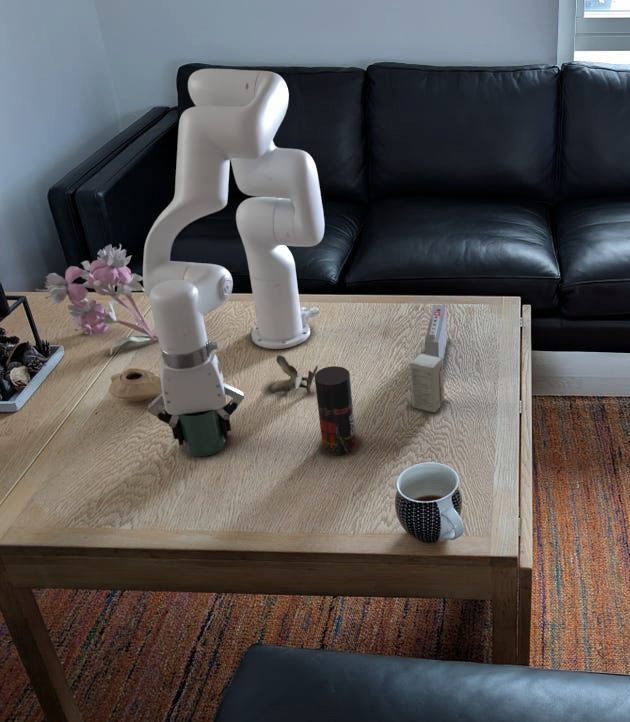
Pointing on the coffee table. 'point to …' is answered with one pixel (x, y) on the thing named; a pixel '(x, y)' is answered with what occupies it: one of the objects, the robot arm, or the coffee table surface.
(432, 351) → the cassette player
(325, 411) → the deodorant
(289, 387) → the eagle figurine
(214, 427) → the pot
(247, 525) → the coffee table surface
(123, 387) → the pottery oil lamp
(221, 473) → the coffee table surface
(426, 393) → the beige box
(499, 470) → the coffee table surface
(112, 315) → the flower
